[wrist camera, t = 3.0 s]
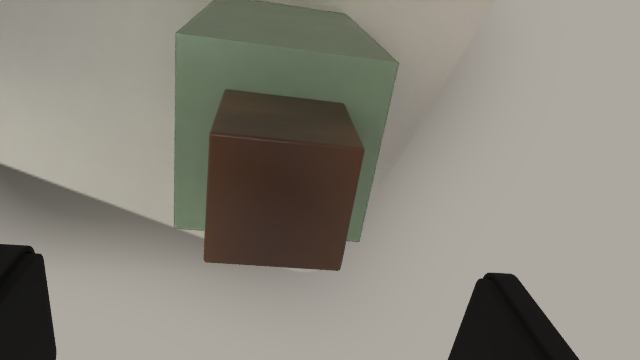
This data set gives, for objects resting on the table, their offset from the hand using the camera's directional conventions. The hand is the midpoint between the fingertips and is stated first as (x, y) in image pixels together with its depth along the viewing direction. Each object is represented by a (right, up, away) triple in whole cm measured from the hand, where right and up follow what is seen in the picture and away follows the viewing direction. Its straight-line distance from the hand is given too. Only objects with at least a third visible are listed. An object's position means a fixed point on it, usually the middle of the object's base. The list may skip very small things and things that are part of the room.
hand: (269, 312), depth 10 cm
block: (-1, +4, +8) cm, 9 cm away
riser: (-2, +10, +20) cm, 23 cm away
